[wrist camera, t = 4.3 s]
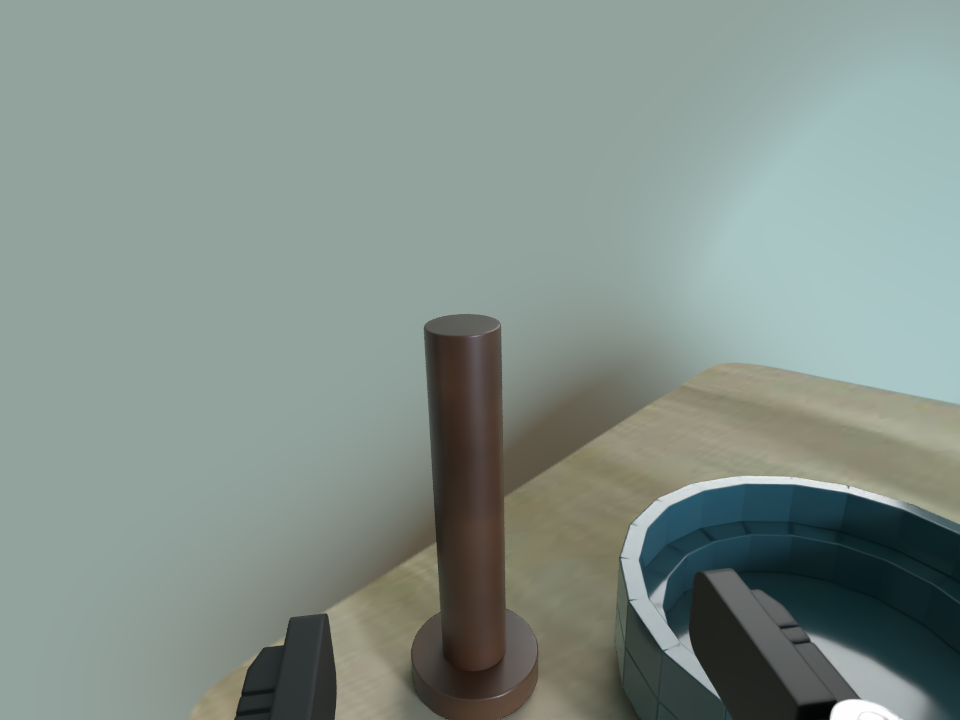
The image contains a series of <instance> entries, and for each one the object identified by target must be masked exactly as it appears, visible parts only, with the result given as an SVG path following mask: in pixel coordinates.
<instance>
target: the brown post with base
mask: <svg viewBox="0 0 960 720" xmlns="http://www.w3.org/2000/svg"><path fill="white" fill-rule="evenodd" d="M424 339H425V356H426V373H427V390H428V405H429V406H428V407H429V423H430V440H431V455H432V456H431V457H432V473H433V491H434V508H435V525H436V542H437V559H438V575H439V592H440V609H441V612H439V613H438V614H436V615H434V616H433V617H432V618H430V619H429V620H428V621H427V622H426V623H425V624H424V625H423V626H422V627H421V628H420V630H419V631H418V633H417V635H416V636H415V639H414V641H413V644H412V649H411V661H412V673H413V682H414V686H415V689H416V691H417V693H418V695H419V697H420V698H421V700H422V701H423V702H424V703H425V704H426V705H427V706H428V707H429V708H430V709H431V710H432V711H434V712H435V713H437V714H439V715H440V716H442V717H445V718H447V719H450V720H497V719H500V718H503V717H505V716H507V715H509V714H511V713H512V712H514V711H516V710H517V709H518V708H519V707H520V706H522V705H523V704H524V703H525V701H526V700H527V699H528V698H529V696H530V695H531V693H532V692H533V690H534V687H535V685H536V682H537V677H538V645H537V640H536V637H535V635H534V633H533V631H532V629H531V628H530V627H529V625H528V624H527V623H526V622H525V621H524V620H523V619H522V618H521V617H519V616H518V615H517V614H515V613H513V612H512V611H510V610H507V609H506V602H505V540H504V481H503V480H504V479H503V420H502V419H503V416H502V358H501V357H502V355H501V324H500V322H499V321H498V320H496V319H494V318H491V317H488V316H483V315H473V314H459V315H449V316H443V317H439V318H436V319H433V320H431V321H429V322H427V323H426V324H425V326H424Z"/></svg>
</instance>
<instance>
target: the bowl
mask: <svg viewBox="0 0 960 720" xmlns="http://www.w3.org/2000/svg"><path fill="white" fill-rule="evenodd" d="M725 568H731V569H733V570H734V571H735V572H736V573H737V574H738V575H739V576H740V578H741V579H742V580H743V581H744V583H745V584H746V585H747V586H748V588H749V589H750V590H757V589H760V590H761V591H763V592H764V593H766V594H767V595H769V596H770V597H772V598H773V599H775V600H776V601H778V602H779V603H781V604H782V605H783V606H784V607H785V609H786V610H787V611H788V612H789V613H790V615H791V616H792V617H793V618H794V619H795V621H796V622H797V623H798V626H799V627H801V628H802V629H803V630H804V631H805V632H806V634H807V635H808V636H809V637H810V640H811V642H812V643H813V642H814V643H815V644H816V646H817V647H818V648H819V649H820V650H821V652H822V653H823V654H824V655H825V656H826V658H827V659H828V660H829V661H830V662H831V664H832V665H833V666H834V667H835V668H836V670H837V671H838V672H839V673H840V674H841V675H842V677H843V678H844V679H845V680H846V681H847V683H848V684H849V685H850V686H851V687H852V689H853V690H854V691H855V692H856V693H857V695H858V696H859V697H860V698H861V699H862V700H866V701H870V702H874V703H876V704H879V705H881V706H883V707H885V708H887V709H889V710H891V711H892V712H894V713H896V714H897V715H898V716H900V717H901V718H902V719H903V720H960V525H959V524H957V523H955V522H952V521H950V520H948V519H945V518H943V517H941V516H938V515H936V514H934V513H931V512H929V511H927V510H924V509H922V508H920V507H917V506H915V505H913V504H909V503H906V502H903V501H899V500H896V499H892V498H889V497H885V496H882V495H879V494H875V493H872V492H868V491H865V490H861V489H858V488H854V487H851V486H849V487H848V486H847V485H840V484H834V483H827V482H821V481H815V480H808V479H802V478H795V477H786V476H734V477H728V478H722V479H716V480H710V481H704V482H698V483H693V484H690V485H687V486H685V487H683V488H680V489H678V490H676V491H673V492H671V493H669V494H666V495H664V496H662V497H659V498H657V499H656V500H655V501H654V502H653V503H652V504H651V505H650V506H649V507H647V508H646V509H645V510H644V511H643V512H642V513H641V514H640V515H639V516H638V517H637V518H636V519H635V520H634V521H633V522H632V523H631V524H630V525H629V528H628V532H627V535H626V538H625V541H624V544H623V547H622V550H621V554H620V557H619V570H618V588H617V607H616V625H615V646H616V652H617V658H618V664H619V670H620V676H621V682H622V686H623V689H624V691H625V693H626V695H627V697H628V699H629V700H630V702H631V704H632V706H633V708H634V709H635V711H636V713H637V715H638V717H639V718H640V720H733V719H732V718H731V716H730V714H729V712H728V711H727V709H726V707H725V706H724V704H723V702H722V701H721V699H720V697H719V695H718V694H717V692H716V690H715V689H714V687H713V685H712V684H711V682H710V680H709V678H708V677H707V675H706V673H705V672H704V670H703V668H702V666H701V665H700V663H699V661H698V660H697V658H696V656H695V654H694V651H693V649H692V645H691V641H690V636H689V620H690V610H691V600H692V591H693V581H694V576H695V574H696V573H697V572H699V571H708V570H716V569H725Z"/></svg>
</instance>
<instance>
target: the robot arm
mask: <svg viewBox="0 0 960 720" xmlns="http://www.w3.org/2000/svg"><path fill="white" fill-rule="evenodd" d="M689 636H690V641H691V645H692V649H693V651H694V654H695V656H696V658H697V660H698V661H699V663H700V665H701V666H702V668H703V670H704V672H705V673H706V675H707V677H708V678H709V680H710V682H711V684H712V685H713V687H714V689H715V690H716V692H717V694H718V695H719V697H720V699H721V701H722V702H723V704H724V706H725V707H726V709H727V711H728V712H729V714H730V716H731V718H732V719H733V720H903V719H902V718H901V717H900V716H898V715H897V714H896V713H894V712H892V711H891V710H889V709H887V708H885V707H883V706H881V705H879V704H876V703H874V702H870V701H866V700H862V699H861V698H860V697H859V696H858V695H857V693H856V692H855V691H854V690H853V689H852V687H851V686H850V685H849V684H848V683H847V681H846V680H845V679H844V678H843V677H842V675H841V674H840V673H839V672H838V671H837V670H836V668H835V667H834V666H833V665H832V664H831V662H830V661H829V660H828V659H827V658H826V656H825V655H824V654H823V653H822V652H821V650H820V649H819V648H818V647H817V646H816V644H815V643H814V642H813V643H812V642H811V640H810V637H809V636H808V635H807V634H806V632H805V631H804V630H803V629H802V628H801V627H799V626H798V623H797V622H796V621H795V619H794V618H793V617H792V616H791V615H790V613H789V612H788V611H787V610H786V609H785V607H784V606H783V605H782V604H781V603H779V602H778V601H776V600H775V599H773V598H772V597H770V596H769V595H767V594H766V593H764V592H763V591H761V590H760V589H757V590H750V589H749V588H748V586H747V585H746V584H745V583H744V581H743V580H742V579H741V578H740V576H739V575H738V574H737V573H736V572H735V571H734V570H733V569H731V568H725V569H716V570H708V571H699V572H697V573H696V574H695V576H694V581H693V591H692V600H691V610H690V620H689ZM336 689H337V688H336V670H335V662H334V655H333V647H332V640H331V633H330V625H329V619H328V615H327V614H317V615H309V616H300V617H292V618H290V620H289V624H288V628H287V633H286V638H285V643H284V645H282V646H274V647H265V648H263V649H262V651H261V652H260V653H259V655H258V656H257V657H256V659H255V660H254V662H253V663H252V664H251V666H250V667H249V668H248V670H247V674H246V678H245V681H244V685H243V689H242V696H241V697H240V700H239V704H238V708H237V711H236V717H235V719H234V720H335V709H336Z"/></svg>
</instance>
